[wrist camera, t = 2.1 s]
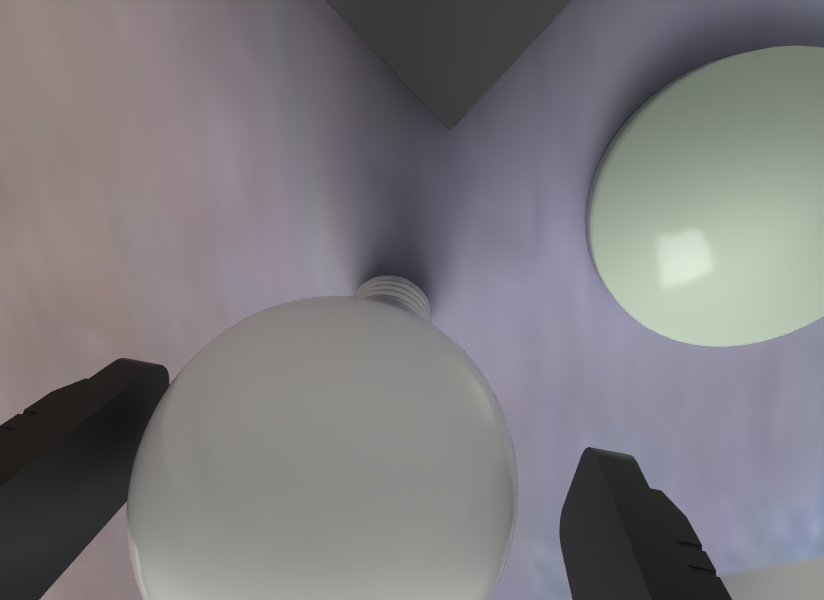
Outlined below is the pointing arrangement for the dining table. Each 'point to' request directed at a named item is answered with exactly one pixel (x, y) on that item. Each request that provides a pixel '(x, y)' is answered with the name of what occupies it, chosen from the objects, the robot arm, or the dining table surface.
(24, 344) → the dining table surface
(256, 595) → the lightbulb
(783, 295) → the pale green dome
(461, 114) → the lamp base pad
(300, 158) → the dining table surface
